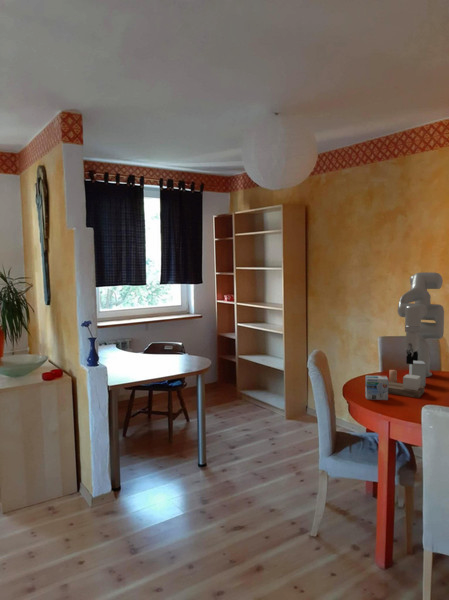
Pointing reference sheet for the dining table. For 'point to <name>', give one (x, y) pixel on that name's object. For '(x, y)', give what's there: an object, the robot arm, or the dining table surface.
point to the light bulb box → (376, 387)
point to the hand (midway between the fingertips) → (412, 362)
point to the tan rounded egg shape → (392, 376)
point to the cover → (411, 382)
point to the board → (404, 390)
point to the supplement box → (418, 370)
